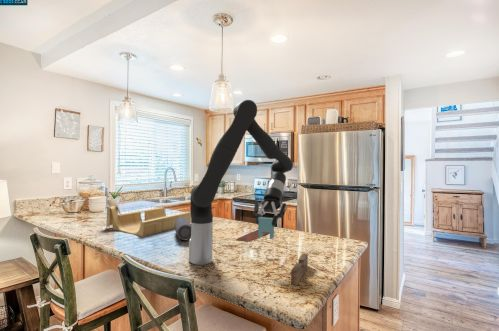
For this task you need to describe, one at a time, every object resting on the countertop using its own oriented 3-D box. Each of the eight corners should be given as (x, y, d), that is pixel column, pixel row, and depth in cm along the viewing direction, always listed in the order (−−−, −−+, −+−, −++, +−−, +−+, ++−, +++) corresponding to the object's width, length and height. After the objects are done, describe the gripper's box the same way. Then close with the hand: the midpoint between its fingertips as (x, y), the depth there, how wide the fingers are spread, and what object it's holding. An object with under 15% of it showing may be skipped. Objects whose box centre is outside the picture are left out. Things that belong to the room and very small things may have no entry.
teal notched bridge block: (258, 237, 108) (258, 217, 108) (260, 235, 110) (260, 216, 110) (272, 239, 105) (272, 219, 105) (274, 237, 108) (274, 217, 108)
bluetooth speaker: (194, 241, 144) (194, 223, 144) (176, 243, 141) (176, 224, 141) (189, 231, 166) (189, 215, 166) (173, 232, 163) (174, 216, 163)
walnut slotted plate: (291, 284, 94) (291, 270, 94) (302, 265, 112) (302, 253, 112) (297, 285, 93) (297, 271, 93) (307, 265, 111) (307, 253, 111)
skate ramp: (142, 239, 153) (143, 211, 153) (106, 229, 171) (107, 204, 170) (190, 225, 188) (191, 202, 187) (156, 218, 205) (156, 197, 205)
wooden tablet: (257, 231, 171) (257, 228, 171) (271, 233, 166) (271, 230, 166) (233, 240, 149) (233, 237, 149) (247, 243, 144) (247, 240, 144)
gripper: (257, 186, 118) (246, 217, 107) (288, 187, 112) (280, 220, 101) (261, 196, 123) (251, 227, 112) (291, 198, 117) (284, 231, 106)
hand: (265, 224), depth 107 cm, fingers closed on teal notched bridge block, 6 cm apart
